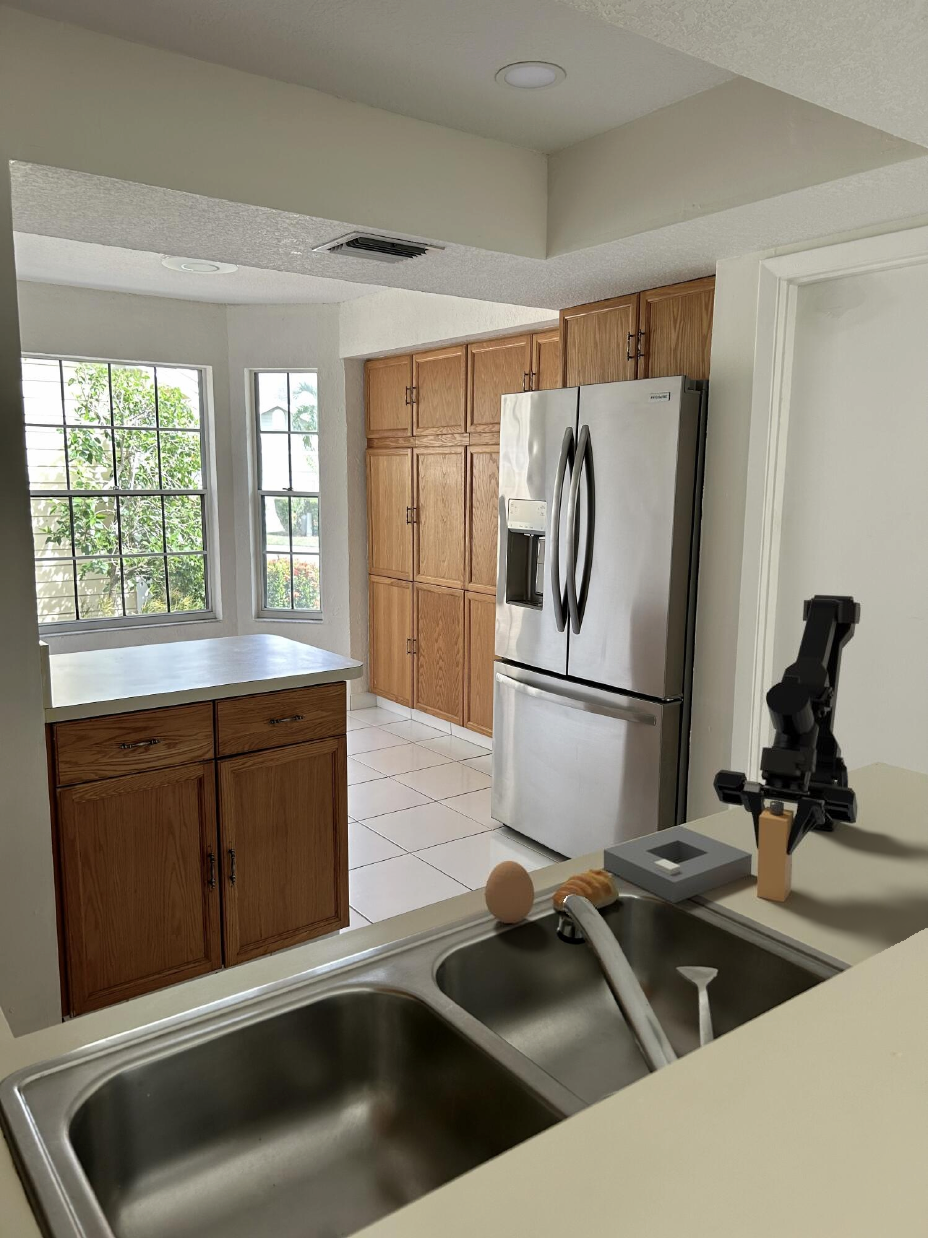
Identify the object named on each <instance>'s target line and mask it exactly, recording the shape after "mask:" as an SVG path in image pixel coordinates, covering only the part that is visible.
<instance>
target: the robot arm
mask: <svg viewBox="0 0 928 1238" xmlns="http://www.w3.org/2000/svg"><path fill="white" fill-rule="evenodd" d="M861 607H862V606H861V603H860V602H855V600H854V597H853V596H851V595H832V594H831V595H830V594H829V595H828V594H815V595H814V596H813V597H811V598H810V599H804V600H803V608H802V609H803V611H802V613H803V614H802V622H803V621H804V622H805V625H804V629H803V634H802V638H801V642H800V645H799V649H798V652H797V657H796V660H795V661H794V662H793V663H792V664H790V665H789V666H787V667H786V668H784V669H785V670H784V672H783V674H782V675H783V676H782V677H781V681H779V682H777V683H775V684H774V685H772V686H771V688H769V690H768V691H767V692H766V695H765V703H766V705H767V709H768V712H769V713H768V714H769V716H770V720H771V723H772V727H773V728H774V730H775V733H774V739H773V744H772V745H771V747H769V746H768V747H767V746H766V747H765V746H763V747H762V750H761V757H760V764H759V765H760V766H759V770H760V771H761V775H760V777H761V779H762V780H763V781H764V784H762V783H761V782H759V781H753V780H748V779H747V776H746V772H740V771H733V770H727V769H720V770H719V771H718V772H716V774H715V775H714V779H713V788H714V790H715V793H716V795H717V798H718V800H719V802H721V803H723V804H726V805H727V804H728V805H734V806H741V807H742V806H743V807H744V809H745V810H744V811H746V812H748V813H751V816H752V822H753V830H754V837H755V846H756V849H757V850H758V844H759V816H760V815H761V814H762V812H763V811H764V810H765V808H766V805H765V802H766V800H770V801H780V802H783V803H790V804H797V806H796V813H795V814H794V816H793V826H792V830H791V833H790V836H789V840H788V845H787V855H791V854H792V855H793V853H794V851H795V849H796V848H798V846H799V844H801V842H802V840H803V839H804V837H806V835H807V834H808V833H809V832H810V831H811V830H813V829H815V830H824V831H829V832H833V831H835V829H836V826H837V823H840V822H841V823H846V824H851V825H852V824H855V823H856V822H857V817H858V809H859V808H858V801H857V795H856V792H855V791H854V790H853V788H852V787H849V773H848V767H847V765H846V763H845V760H844V757H842V749H841V747H840V745H839V742H838V740H837V739H836V736H835V735H834V727H835V717H836V709H837V702H838V701H837V700H838V692H839V691H838V690H839V689H838V688H839V681H840V672H841V664H842V657H843V655H842V654H843V649H844V648H845V647H846V645H848V643H849V642H850V641H851V640H852V639H853V638H854V636H855V631H856V626H857V625H858V624H860V620H861V609H862V608H861ZM856 624H857V625H856Z"/></svg>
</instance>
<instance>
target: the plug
mask: <svg viewBox="0 0 928 1238" xmlns="http://www.w3.org/2000/svg"><path fill="white" fill-rule="evenodd" d="M794 817H795V811H794V810H793V809H792V810H791V809H785V802H783V801H776V800H770V802H769V806H765V810H764V811H763V812H762V814H761V815H760V816H759V844H758V849H757V851H758V853H757V854H758V855H757V879H756V880H757V885H756V886H757V887H756V897H758V898H761V899H766V900H767V899H768V900H773V901H776V902H777V901H778V902H782V903H784V902H785V901H786V900H787V897H788V896H789V894H790V892H791V890H792V875H793V874H792V871H793V870H792V868H793V853H792V854H791V855H787V845H788V840H789V836H790V833H791V830H792V826H793V819H794Z"/></svg>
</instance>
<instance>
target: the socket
mask: <svg viewBox="0 0 928 1238" xmlns="http://www.w3.org/2000/svg"><path fill="white" fill-rule="evenodd" d="M752 855H753V854H752V853H750V852H747V851H745V850H743V849H740V848H737V847H736V846H735V847H734V846H732V845H730V844H727V843H725V842H722V841H719V840H717V839H715V838H712V837H709V836H706V835H704V834H703V833H702V834H701V833H699V832H697V831H694V830H691V829H689V828H686V827H684V826H681V825H677V826H674V827H670V828H667V829H664V830H661V831H657V832H655V833H652V834H649V835H646V836H642V837H639V838H635V839H633V840H630V841H626V842H624V843H620V844H617V845H614V846H610V847H608V848H604V849H603V870H604V871H607V870H609V871H612V872H613V873H616V875H615V876H617V875H619V876H620V878H621V877H622V878H621V879H624V880H625V881H628V882H630V883H632V884H633V885H636V886H638V887H639V888H642V889H644V890H646V891H648V892H650V893H652V894H654V895H656V896H658V897H660V898H662V899H665V900H666V901H668V902H671V903H672V904H676V903H679V902H681V901H684V900H686V899H689V898H692V897H694V896H697V895H699V894H702V893H704V892H707V891H710V890H713V889H715V888H718V887H720V886H723V885H726V884H728V883H730V882H734V881H736V880H739V879H741V878H743V877H747V876H749V875H752V861H753V860H752V859H753V858H752V857H753V856H752ZM676 860H679V861H681V862H679V863H674V862H673V861H676ZM609 871H608V872H609ZM613 873H612V874H613ZM619 876H618V877H619Z"/></svg>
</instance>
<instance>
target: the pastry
mask: <svg viewBox="0 0 928 1238" xmlns="http://www.w3.org/2000/svg"><path fill="white" fill-rule="evenodd" d="M571 894H576V895H580V896H583V897H585V898H586V899H588V900H589V901H590V902H591V903H592V904H594V905H595V907H597V909H601V908H604V907H606V906H609V905H611V904H614V902H616V901H617V899H618V898H619V897H620V892H619V889H618V888H617V885H616V883H615V882H614V880H613V877H612V876H611V874H610V873H608V872H607V871H606V870H604V869H602V868H598V869H593V868H590V869H589V870H588V871H585V872H582V873H579V874H574V875H572V876H570V877H569V878H567V880H566V881H565V882H564V883H563V884H562V885H561V886H560V887H558V888H557V890H555V893H554V894H553V895H552V907H553V908H554V909H557V910H558V911H562V912H564V911H563V901H564V899H565V898H566V896H568V895H571ZM597 909H596V910H597Z"/></svg>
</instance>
